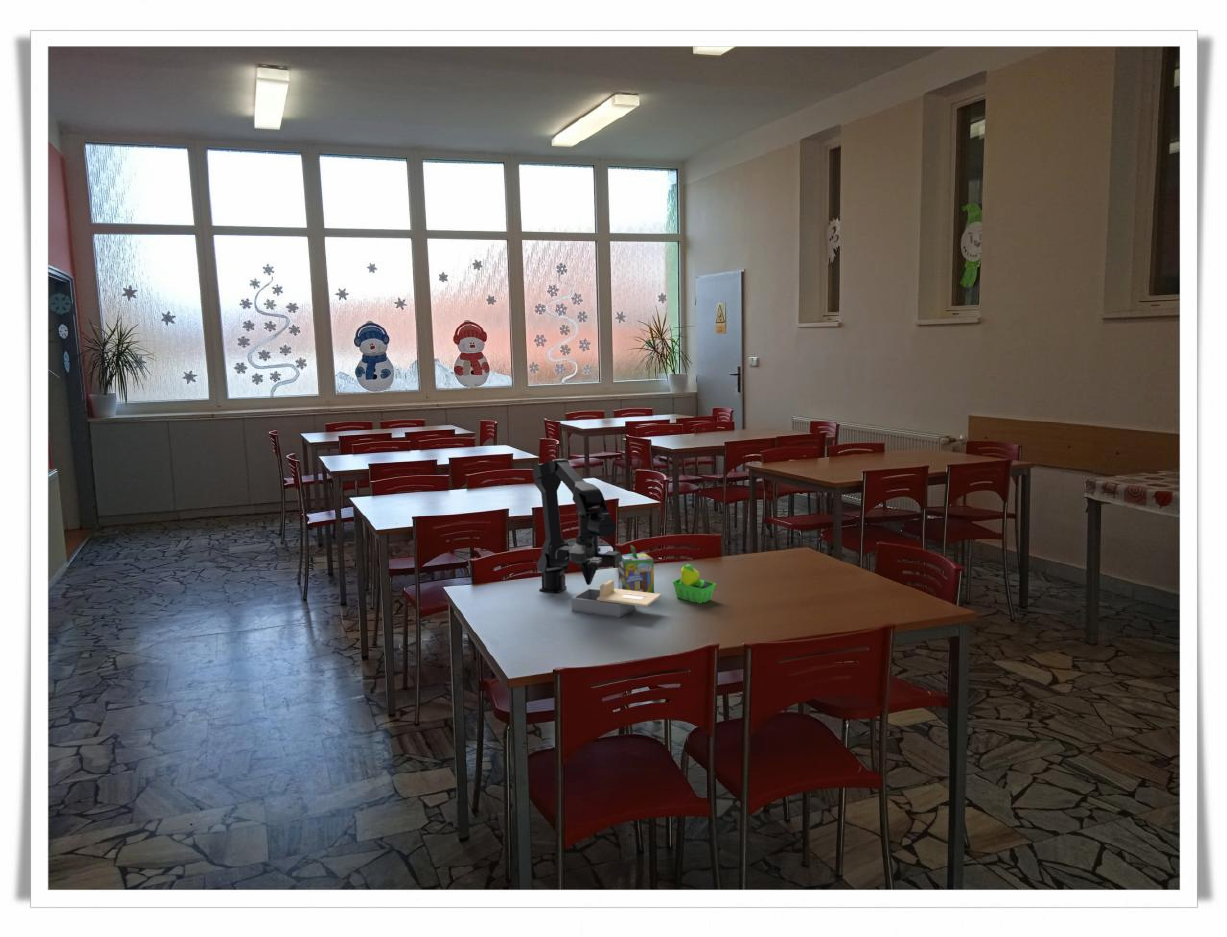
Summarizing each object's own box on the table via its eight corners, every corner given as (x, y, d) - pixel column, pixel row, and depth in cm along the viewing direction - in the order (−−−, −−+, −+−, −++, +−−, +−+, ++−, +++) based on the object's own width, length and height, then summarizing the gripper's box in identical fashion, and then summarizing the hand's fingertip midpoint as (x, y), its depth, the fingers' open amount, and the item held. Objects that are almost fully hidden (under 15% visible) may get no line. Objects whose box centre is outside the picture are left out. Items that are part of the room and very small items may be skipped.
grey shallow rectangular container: (571, 611, 242) (571, 598, 241) (588, 601, 252) (588, 588, 251) (619, 618, 236) (619, 604, 235) (635, 607, 245) (635, 594, 245)
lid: (596, 600, 238) (596, 587, 237) (613, 590, 248) (613, 578, 247) (646, 606, 232) (646, 594, 231) (660, 596, 242) (661, 583, 241)
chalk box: (654, 596, 257) (654, 548, 254) (625, 598, 254) (625, 550, 252) (646, 588, 265) (646, 541, 263) (617, 590, 263) (617, 543, 261)
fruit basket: (716, 600, 253) (717, 563, 251) (698, 606, 246) (699, 568, 245) (686, 592, 260) (687, 556, 259) (668, 598, 254) (668, 562, 253)
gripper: (546, 534, 239) (546, 588, 241) (606, 540, 231) (606, 596, 234) (564, 526, 249) (564, 578, 251) (622, 532, 241) (622, 585, 244)
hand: (588, 584), depth 245 cm, fingers closed
